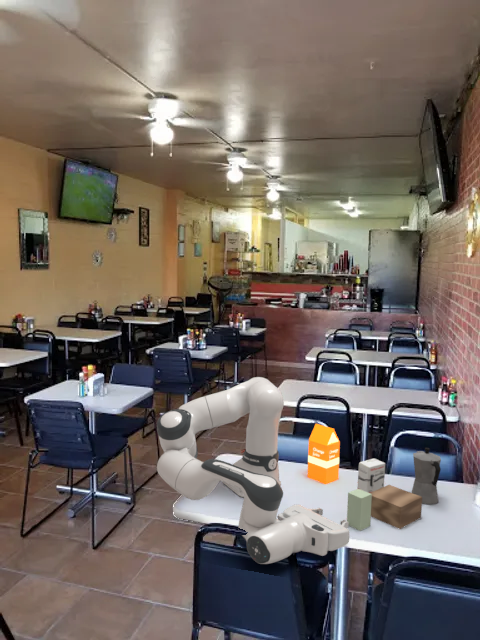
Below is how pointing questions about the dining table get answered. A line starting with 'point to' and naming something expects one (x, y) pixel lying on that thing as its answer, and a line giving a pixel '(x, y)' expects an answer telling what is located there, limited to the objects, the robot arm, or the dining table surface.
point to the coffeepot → (426, 476)
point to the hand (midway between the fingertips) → (333, 517)
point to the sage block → (359, 509)
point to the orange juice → (323, 455)
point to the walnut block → (395, 506)
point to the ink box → (371, 475)
